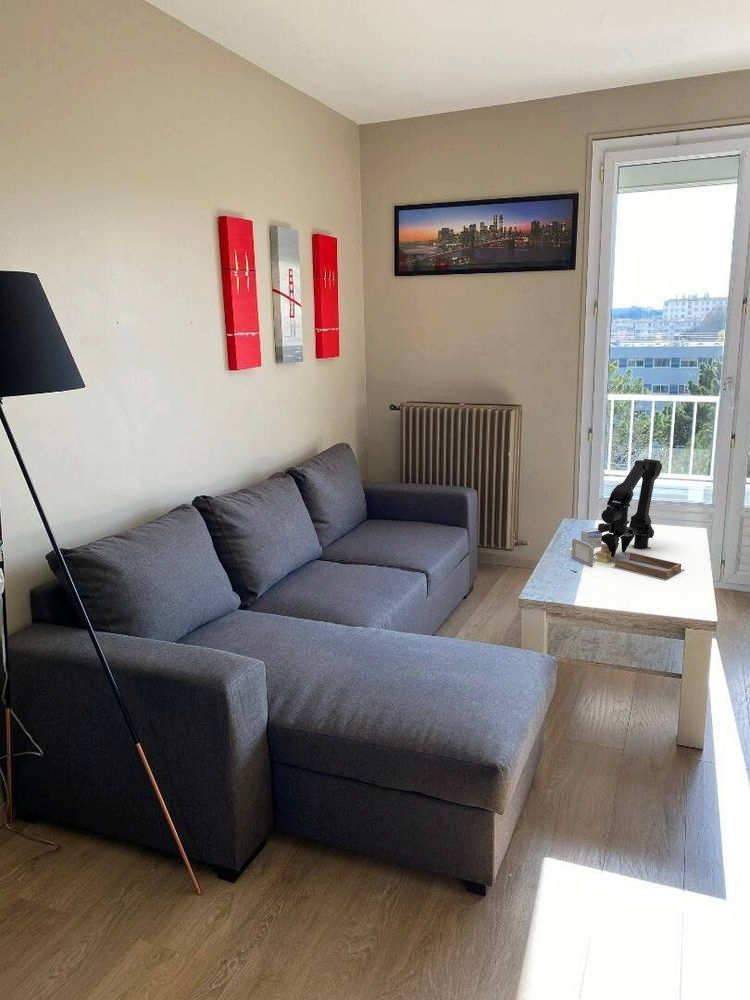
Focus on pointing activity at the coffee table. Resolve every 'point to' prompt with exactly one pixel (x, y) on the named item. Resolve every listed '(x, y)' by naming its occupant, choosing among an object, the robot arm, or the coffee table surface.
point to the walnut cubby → (671, 566)
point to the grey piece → (582, 552)
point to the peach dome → (604, 547)
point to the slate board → (626, 558)
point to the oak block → (603, 556)
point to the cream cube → (570, 551)
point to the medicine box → (591, 537)
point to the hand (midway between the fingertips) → (617, 554)
